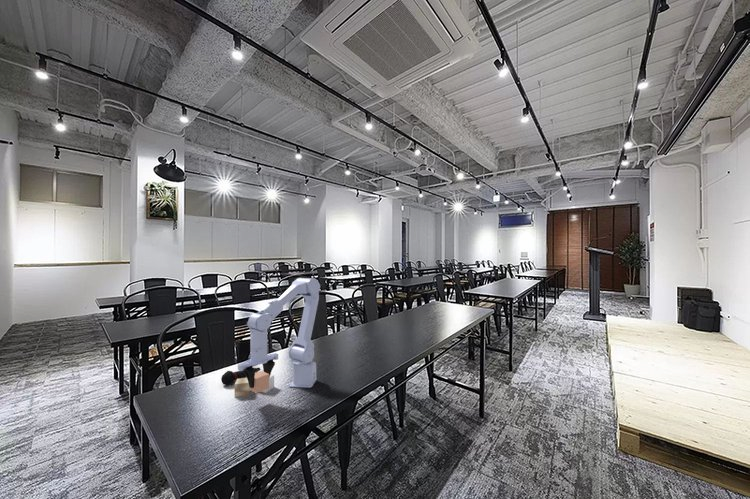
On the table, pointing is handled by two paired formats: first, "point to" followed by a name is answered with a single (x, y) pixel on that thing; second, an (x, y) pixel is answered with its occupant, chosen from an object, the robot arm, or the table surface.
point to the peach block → (260, 381)
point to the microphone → (233, 376)
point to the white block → (270, 384)
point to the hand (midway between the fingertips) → (259, 384)
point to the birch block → (242, 387)
